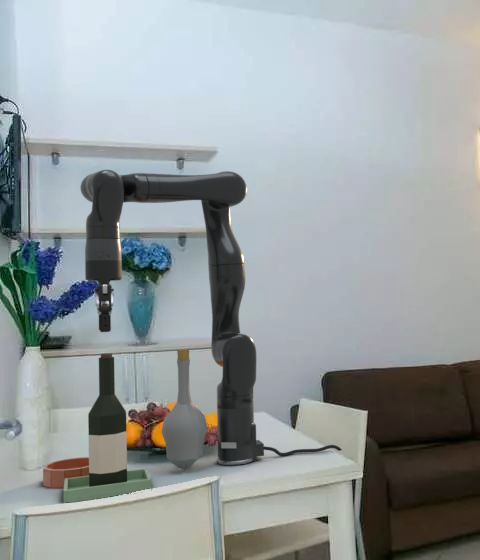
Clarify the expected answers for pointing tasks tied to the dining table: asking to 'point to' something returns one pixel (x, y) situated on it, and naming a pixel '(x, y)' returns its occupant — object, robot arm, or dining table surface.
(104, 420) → the wine bottle
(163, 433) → the bottle
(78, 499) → the tray
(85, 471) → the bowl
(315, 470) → the dining table surface
